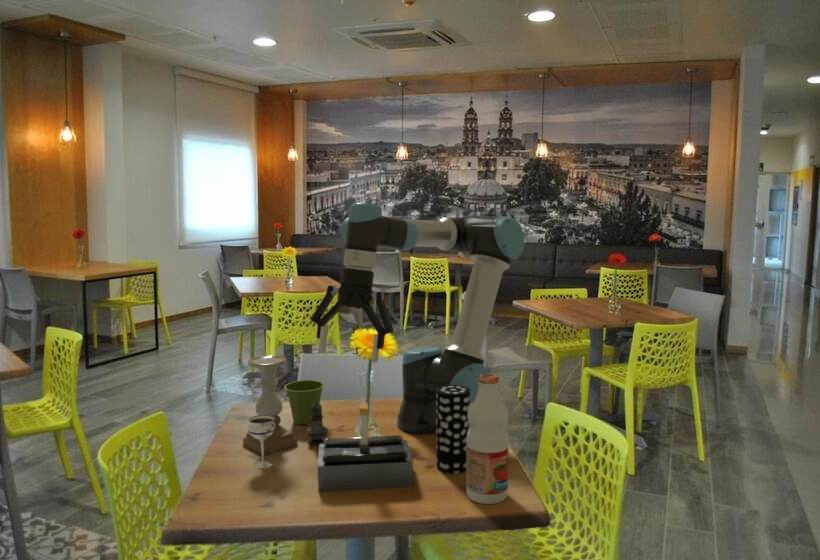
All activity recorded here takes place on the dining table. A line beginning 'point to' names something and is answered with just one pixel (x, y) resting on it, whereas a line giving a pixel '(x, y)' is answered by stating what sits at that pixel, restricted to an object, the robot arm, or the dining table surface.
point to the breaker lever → (364, 429)
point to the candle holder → (269, 407)
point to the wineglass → (262, 434)
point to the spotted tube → (452, 427)
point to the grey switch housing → (364, 464)
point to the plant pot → (303, 399)
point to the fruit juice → (487, 444)
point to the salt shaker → (316, 426)
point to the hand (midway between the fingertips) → (347, 357)
